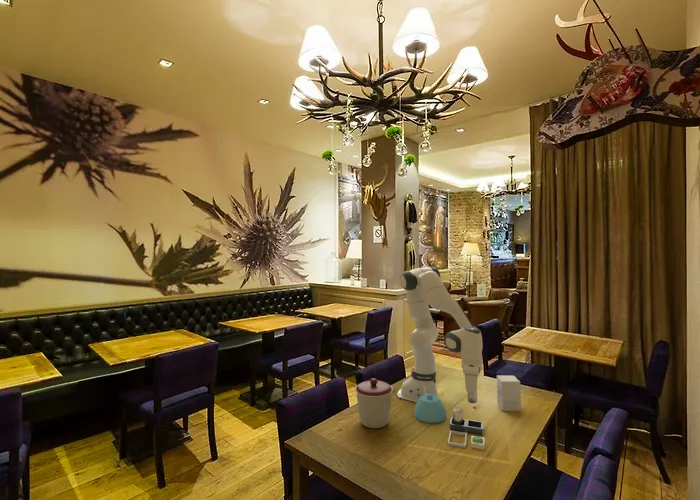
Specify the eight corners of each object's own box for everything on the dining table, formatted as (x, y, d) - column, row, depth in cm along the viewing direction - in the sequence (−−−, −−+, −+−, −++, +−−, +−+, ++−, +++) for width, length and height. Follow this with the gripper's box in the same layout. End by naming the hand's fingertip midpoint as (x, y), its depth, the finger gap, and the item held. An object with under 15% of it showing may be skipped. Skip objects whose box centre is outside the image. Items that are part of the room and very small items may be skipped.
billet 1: (453, 428, 158) (452, 410, 158) (454, 424, 162) (453, 406, 162) (462, 430, 156) (462, 411, 156) (463, 425, 160) (462, 407, 160)
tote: (447, 447, 145) (447, 442, 145) (450, 435, 154) (450, 430, 154) (465, 450, 143) (465, 445, 143) (467, 438, 152) (466, 433, 152)
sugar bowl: (447, 427, 162) (446, 402, 161) (414, 424, 165) (413, 400, 164) (445, 412, 176) (444, 389, 176) (414, 410, 179) (414, 387, 179)
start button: (473, 446, 144) (473, 439, 144) (473, 441, 147) (473, 435, 147) (482, 447, 143) (482, 441, 143) (482, 443, 146) (482, 437, 146)
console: (471, 450, 143) (470, 442, 143) (471, 442, 148) (471, 435, 148) (484, 452, 141) (484, 445, 141) (484, 444, 147) (484, 437, 147)
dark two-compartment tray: (449, 432, 157) (449, 424, 157) (451, 424, 164) (450, 416, 164) (483, 438, 152) (483, 429, 151) (483, 429, 159) (483, 421, 159)
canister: (400, 419, 169) (399, 376, 169) (382, 437, 154) (381, 389, 154) (367, 411, 179) (366, 369, 179) (347, 426, 164) (347, 381, 164)
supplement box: (514, 403, 184) (514, 375, 184) (521, 411, 175) (520, 381, 175) (496, 403, 185) (496, 374, 185) (502, 411, 176) (501, 381, 176)
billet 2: (467, 402, 155) (467, 384, 155) (467, 398, 159) (467, 380, 159) (476, 404, 153) (476, 385, 153) (477, 400, 157) (477, 382, 157)
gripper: (465, 356, 167) (466, 385, 167) (462, 370, 148) (463, 403, 148) (480, 357, 164) (480, 387, 165) (478, 372, 145) (479, 406, 146)
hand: (472, 395), depth 156 cm, fingers closed on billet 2, 4 cm apart
